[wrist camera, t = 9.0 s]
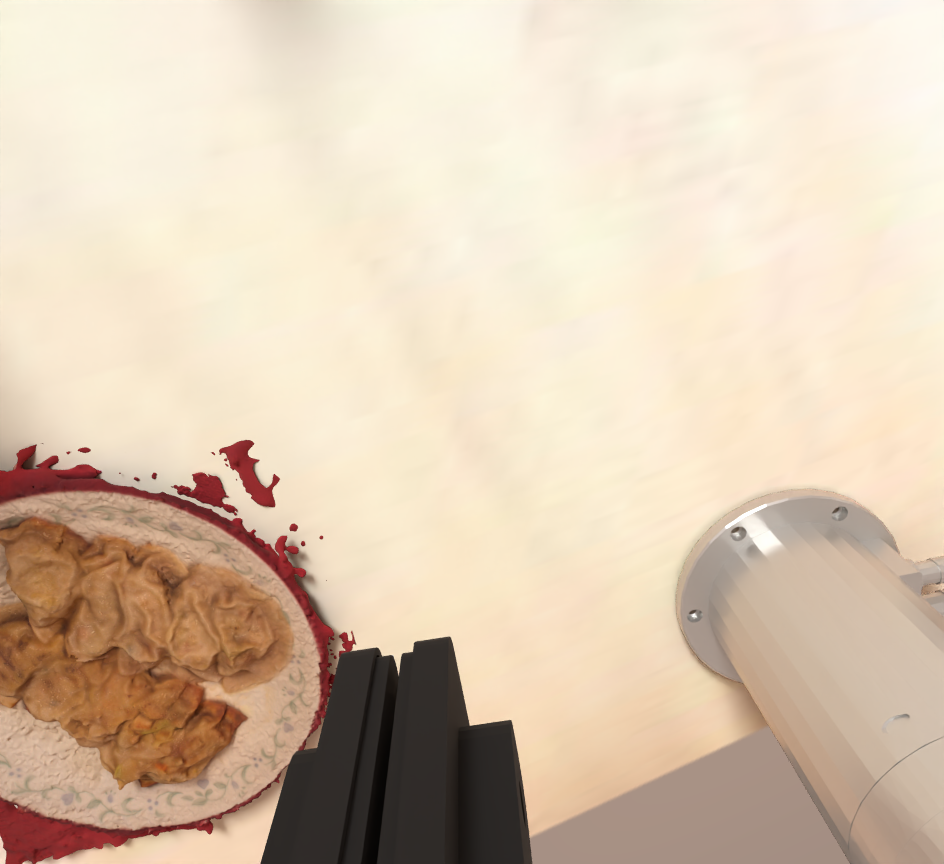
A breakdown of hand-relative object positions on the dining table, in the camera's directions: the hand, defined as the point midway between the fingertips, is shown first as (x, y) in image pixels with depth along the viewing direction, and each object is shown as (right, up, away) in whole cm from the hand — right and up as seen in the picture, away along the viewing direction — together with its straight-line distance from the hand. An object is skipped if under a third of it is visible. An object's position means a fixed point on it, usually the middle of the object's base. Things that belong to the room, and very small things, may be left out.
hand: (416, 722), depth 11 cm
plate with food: (-18, -8, +31) cm, 36 cm away
